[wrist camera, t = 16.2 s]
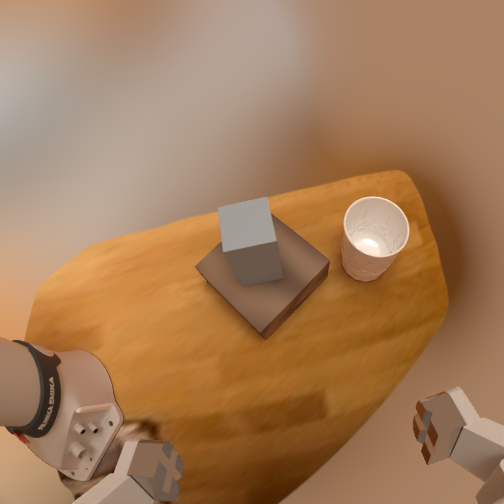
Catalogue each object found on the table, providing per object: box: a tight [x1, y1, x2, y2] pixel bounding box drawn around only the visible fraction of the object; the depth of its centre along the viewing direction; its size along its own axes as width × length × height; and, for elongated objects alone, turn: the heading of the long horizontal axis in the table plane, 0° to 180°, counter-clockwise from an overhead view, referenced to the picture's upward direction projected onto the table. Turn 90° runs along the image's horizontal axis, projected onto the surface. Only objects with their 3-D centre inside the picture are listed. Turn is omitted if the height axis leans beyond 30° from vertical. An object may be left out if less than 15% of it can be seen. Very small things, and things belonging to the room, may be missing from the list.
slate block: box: [218, 197, 283, 287], centre depth 35 cm, size 5×5×10 cm
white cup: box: [341, 197, 409, 282], centre depth 39 cm, size 8×8×10 cm
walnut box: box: [195, 214, 330, 340], centre depth 42 cm, size 12×12×6 cm
